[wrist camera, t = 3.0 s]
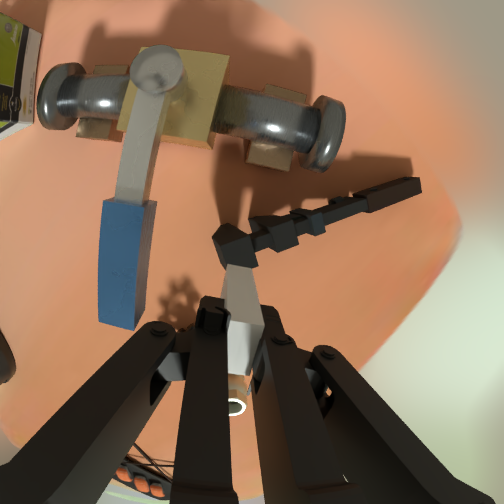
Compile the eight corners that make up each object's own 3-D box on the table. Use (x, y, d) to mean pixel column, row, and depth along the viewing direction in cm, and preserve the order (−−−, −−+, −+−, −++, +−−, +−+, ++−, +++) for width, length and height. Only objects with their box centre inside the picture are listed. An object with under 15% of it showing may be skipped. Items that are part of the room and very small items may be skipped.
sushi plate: (72, 446, 42) (68, 457, 38) (141, 415, 39) (136, 431, 35) (162, 496, 50) (161, 506, 46) (246, 474, 47) (247, 487, 43)
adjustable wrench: (384, 192, 36) (213, 253, 31) (381, 173, 35) (206, 230, 30) (429, 196, 28) (230, 276, 23) (426, 174, 27) (219, 246, 22)
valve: (258, 370, 36) (198, 314, 33) (263, 403, 30) (193, 346, 27) (222, 391, 37) (162, 341, 34) (223, 424, 31) (152, 373, 28)
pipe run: (76, 138, 25) (13, 131, 14) (92, 75, 23) (39, 43, 12) (301, 176, 29) (345, 181, 18) (316, 109, 27) (365, 81, 16)
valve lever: (150, 60, 14) (138, 44, 11) (193, 64, 15) (187, 46, 12) (110, 301, 19) (96, 320, 16) (147, 310, 19) (136, 331, 16)
